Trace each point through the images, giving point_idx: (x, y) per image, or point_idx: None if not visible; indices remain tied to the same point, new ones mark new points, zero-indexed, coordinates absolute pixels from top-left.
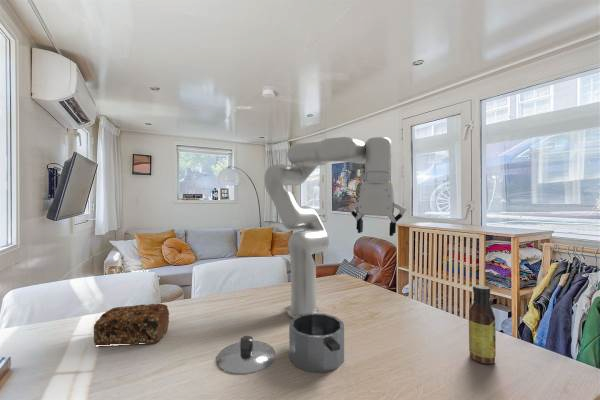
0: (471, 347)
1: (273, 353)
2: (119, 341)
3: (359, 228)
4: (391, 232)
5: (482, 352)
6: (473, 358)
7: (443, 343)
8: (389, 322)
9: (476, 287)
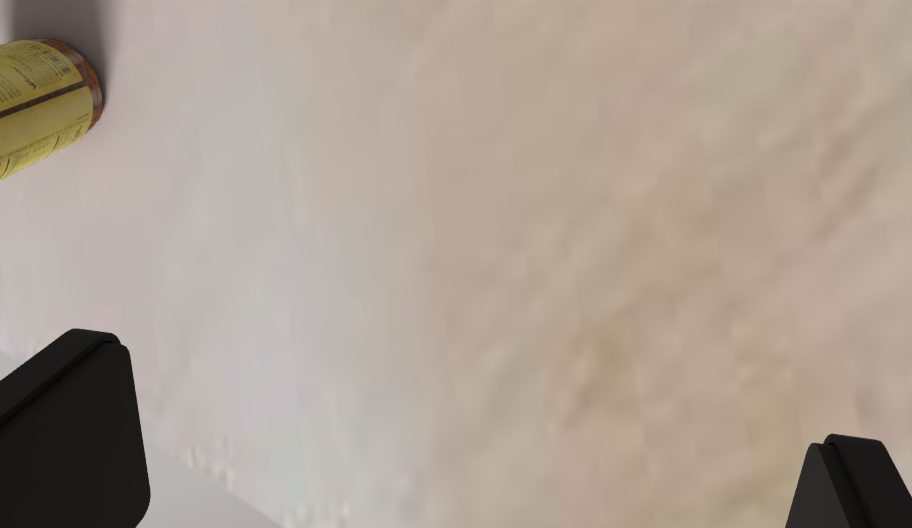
0: (61, 73)
1: None
2: None
3: (866, 502)
4: (36, 357)
5: (16, 44)
6: (82, 57)
7: (221, 173)
8: (500, 311)
9: None
